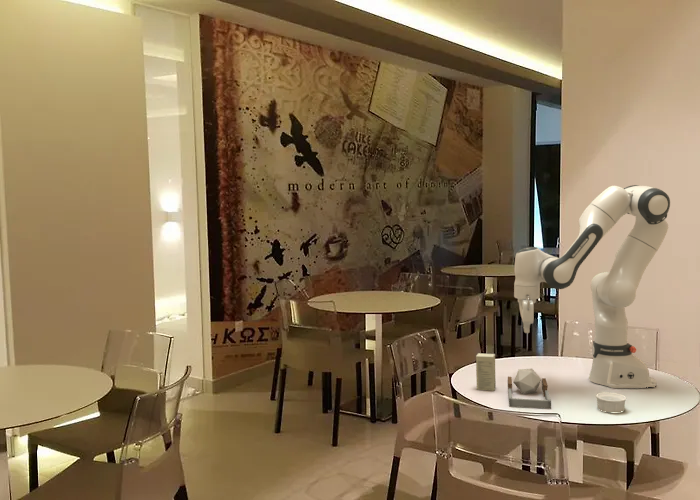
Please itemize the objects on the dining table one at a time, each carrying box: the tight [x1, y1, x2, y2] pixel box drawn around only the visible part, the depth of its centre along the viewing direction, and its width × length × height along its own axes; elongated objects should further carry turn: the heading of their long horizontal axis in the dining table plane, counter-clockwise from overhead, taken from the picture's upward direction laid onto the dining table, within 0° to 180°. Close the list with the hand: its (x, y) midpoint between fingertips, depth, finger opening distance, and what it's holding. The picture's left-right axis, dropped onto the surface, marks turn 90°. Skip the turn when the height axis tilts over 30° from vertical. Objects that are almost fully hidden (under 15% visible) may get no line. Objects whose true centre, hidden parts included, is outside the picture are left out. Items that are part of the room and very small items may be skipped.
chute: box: [507, 376, 549, 398], centre depth 230 cm, size 13×8×4 cm, turn 78°
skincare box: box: [475, 352, 497, 392], centre depth 234 cm, size 6×4×12 cm
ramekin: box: [595, 391, 627, 413], centre depth 212 cm, size 9×9×4 cm
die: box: [512, 368, 542, 395], centre depth 231 cm, size 8×9×10 cm
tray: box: [507, 387, 552, 410], centre depth 220 cm, size 13×11×2 cm
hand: (526, 331), depth 239 cm, fingers open, 4 cm apart
